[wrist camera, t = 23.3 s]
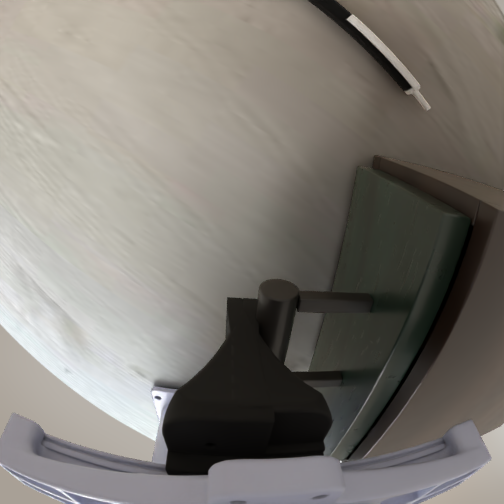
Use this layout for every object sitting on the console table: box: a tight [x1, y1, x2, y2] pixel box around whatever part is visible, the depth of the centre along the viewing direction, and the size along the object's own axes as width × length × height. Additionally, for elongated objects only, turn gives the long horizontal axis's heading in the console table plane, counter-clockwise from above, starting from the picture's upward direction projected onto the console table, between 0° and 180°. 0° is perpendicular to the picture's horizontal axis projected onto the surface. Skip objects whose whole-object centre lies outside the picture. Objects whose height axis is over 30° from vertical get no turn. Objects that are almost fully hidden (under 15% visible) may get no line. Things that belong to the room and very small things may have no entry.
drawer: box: [256, 166, 474, 460], centre depth 13 cm, size 17×13×7 cm
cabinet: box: [342, 155, 504, 463], centre depth 13 cm, size 14×15×9 cm
